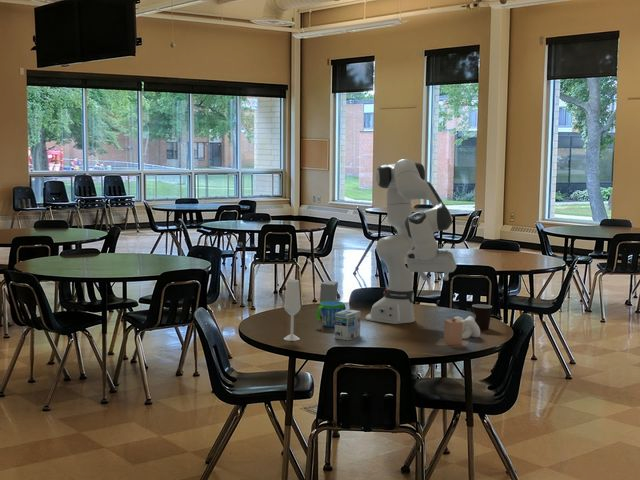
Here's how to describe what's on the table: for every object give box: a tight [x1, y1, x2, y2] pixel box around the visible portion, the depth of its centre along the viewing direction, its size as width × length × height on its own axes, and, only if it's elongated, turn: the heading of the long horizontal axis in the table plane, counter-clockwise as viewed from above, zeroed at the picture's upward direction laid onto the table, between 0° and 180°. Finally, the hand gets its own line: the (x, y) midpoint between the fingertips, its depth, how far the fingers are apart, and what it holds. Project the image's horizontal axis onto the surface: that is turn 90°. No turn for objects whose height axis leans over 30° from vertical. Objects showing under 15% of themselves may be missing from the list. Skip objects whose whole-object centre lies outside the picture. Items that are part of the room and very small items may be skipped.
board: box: [435, 337, 471, 349], centre depth 337 cm, size 12×12×1 cm
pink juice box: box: [443, 317, 463, 345], centre depth 336 cm, size 5×6×10 cm
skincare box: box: [319, 280, 339, 318], centre depth 388 cm, size 8×7×16 cm
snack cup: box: [315, 300, 347, 328], centre depth 367 cm, size 16×10×10 cm
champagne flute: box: [283, 279, 302, 342], centre depth 341 cm, size 7×7×24 cm
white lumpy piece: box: [453, 315, 481, 340], centre depth 349 cm, size 11×12×9 cm
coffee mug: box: [471, 303, 493, 331], centre depth 370 cm, size 12×9×10 cm
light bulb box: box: [334, 308, 362, 341], centre depth 346 cm, size 11×7×11 cm, turn 148°
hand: (435, 279), depth 341 cm, fingers open, 8 cm apart
